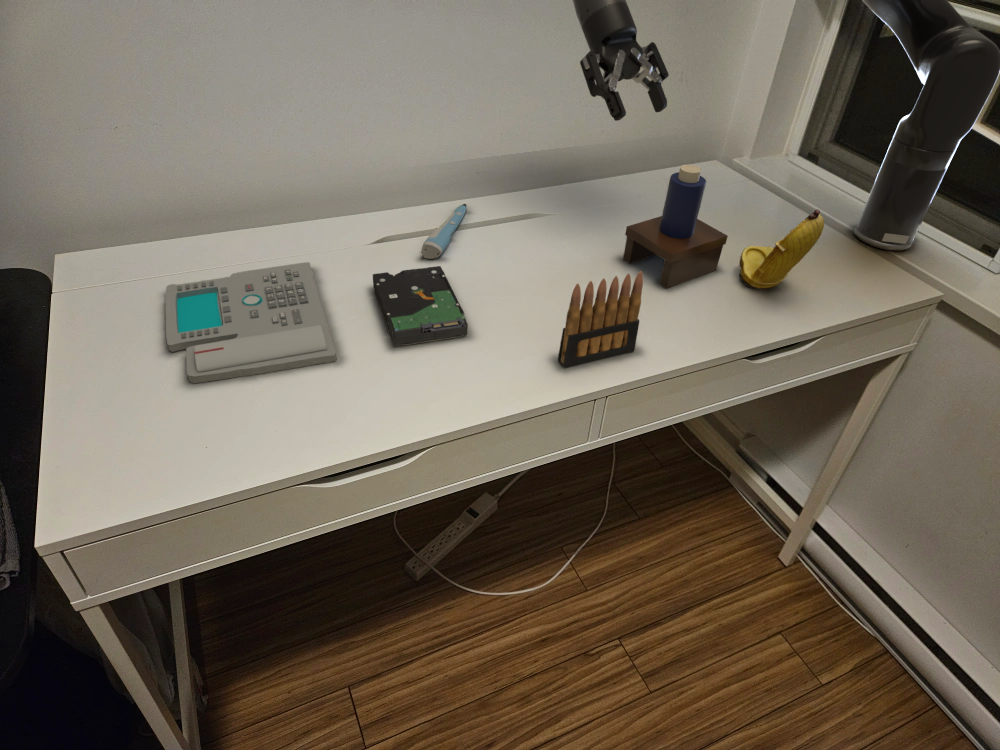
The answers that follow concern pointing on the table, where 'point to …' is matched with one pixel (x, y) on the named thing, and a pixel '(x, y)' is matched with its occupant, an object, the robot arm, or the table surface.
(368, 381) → the table surface
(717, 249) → the brown wooden stand
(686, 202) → the bottle
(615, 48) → the robot arm
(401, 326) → the disk drive
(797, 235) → the shrine
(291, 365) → the office telephone
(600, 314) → the ammunition clip
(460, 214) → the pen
